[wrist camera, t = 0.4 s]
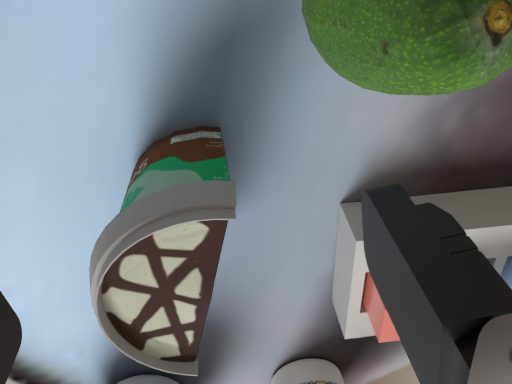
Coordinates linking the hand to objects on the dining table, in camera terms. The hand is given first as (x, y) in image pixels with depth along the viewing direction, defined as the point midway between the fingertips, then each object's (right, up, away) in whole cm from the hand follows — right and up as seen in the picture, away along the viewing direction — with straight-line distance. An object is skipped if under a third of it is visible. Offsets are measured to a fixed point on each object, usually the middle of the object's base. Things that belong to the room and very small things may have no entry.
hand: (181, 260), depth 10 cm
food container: (-5, +2, +20) cm, 21 cm away
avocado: (+7, +13, +14) cm, 20 cm away
